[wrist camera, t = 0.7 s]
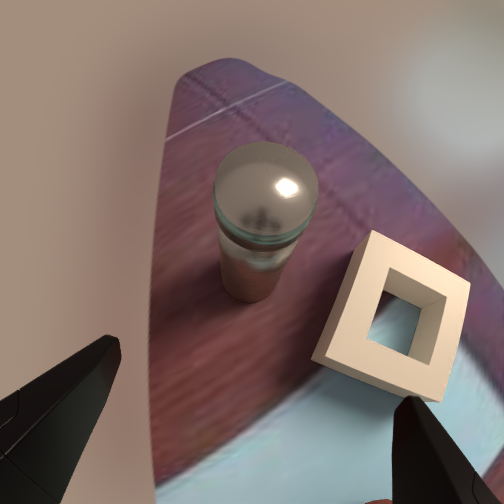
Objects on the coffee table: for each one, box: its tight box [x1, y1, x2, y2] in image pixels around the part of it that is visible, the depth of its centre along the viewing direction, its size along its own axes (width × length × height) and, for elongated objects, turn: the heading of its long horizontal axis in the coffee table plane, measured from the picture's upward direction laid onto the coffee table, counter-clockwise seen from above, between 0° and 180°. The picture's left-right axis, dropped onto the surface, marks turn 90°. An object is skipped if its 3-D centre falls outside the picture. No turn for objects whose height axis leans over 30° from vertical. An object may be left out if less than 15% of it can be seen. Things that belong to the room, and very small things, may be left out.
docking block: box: [310, 230, 470, 402], centre depth 23 cm, size 10×10×4 cm
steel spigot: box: [213, 142, 318, 303], centre depth 20 cm, size 5×5×13 cm
